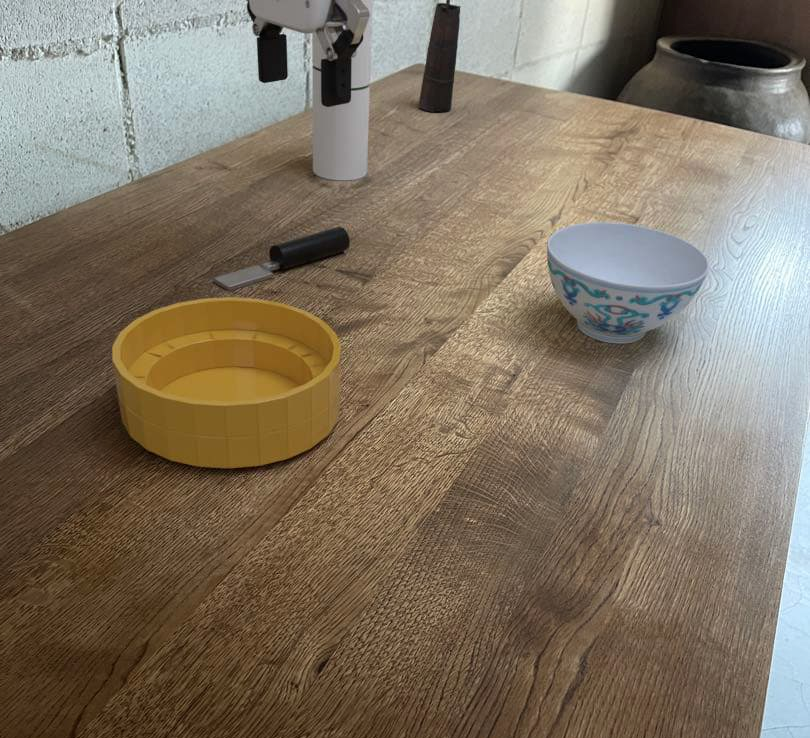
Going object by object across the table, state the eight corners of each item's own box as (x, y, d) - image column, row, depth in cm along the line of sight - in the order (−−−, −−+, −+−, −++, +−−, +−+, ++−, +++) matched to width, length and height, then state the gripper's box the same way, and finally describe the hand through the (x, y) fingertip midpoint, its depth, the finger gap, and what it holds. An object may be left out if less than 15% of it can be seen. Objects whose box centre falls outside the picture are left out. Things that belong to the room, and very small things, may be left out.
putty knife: (334, 246, 102) (334, 223, 100) (349, 254, 101) (350, 230, 99) (213, 282, 93) (212, 257, 91) (229, 291, 92) (227, 266, 90)
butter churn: (444, 122, 142) (463, -97, 124) (393, 109, 146) (404, -105, 128) (474, 111, 148) (496, -100, 130) (424, 99, 152) (438, -108, 134)
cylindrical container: (319, 160, 124) (319, -59, 108) (371, 165, 124) (378, -53, 108) (307, 177, 119) (305, -51, 103) (361, 183, 118) (368, -45, 102)
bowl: (81, 403, 74) (69, 335, 70) (254, 342, 84) (251, 279, 80) (205, 503, 65) (198, 432, 61) (382, 422, 75) (386, 356, 71)
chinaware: (577, 282, 98) (591, 210, 94) (710, 325, 92) (732, 251, 87) (507, 330, 89) (518, 253, 84) (650, 382, 83) (671, 302, 78)
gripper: (204, -135, 81) (220, 77, 92) (330, -112, 71) (331, 121, 82) (273, -136, 85) (280, 67, 96) (401, -114, 76) (392, 108, 87)
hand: (303, 92), depth 89 cm, fingers open, 9 cm apart
